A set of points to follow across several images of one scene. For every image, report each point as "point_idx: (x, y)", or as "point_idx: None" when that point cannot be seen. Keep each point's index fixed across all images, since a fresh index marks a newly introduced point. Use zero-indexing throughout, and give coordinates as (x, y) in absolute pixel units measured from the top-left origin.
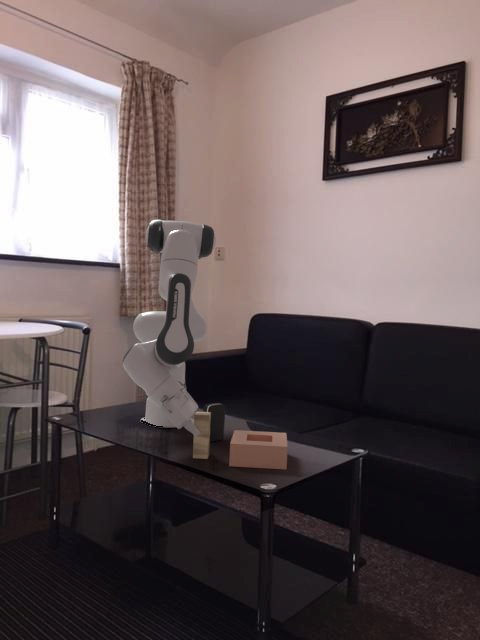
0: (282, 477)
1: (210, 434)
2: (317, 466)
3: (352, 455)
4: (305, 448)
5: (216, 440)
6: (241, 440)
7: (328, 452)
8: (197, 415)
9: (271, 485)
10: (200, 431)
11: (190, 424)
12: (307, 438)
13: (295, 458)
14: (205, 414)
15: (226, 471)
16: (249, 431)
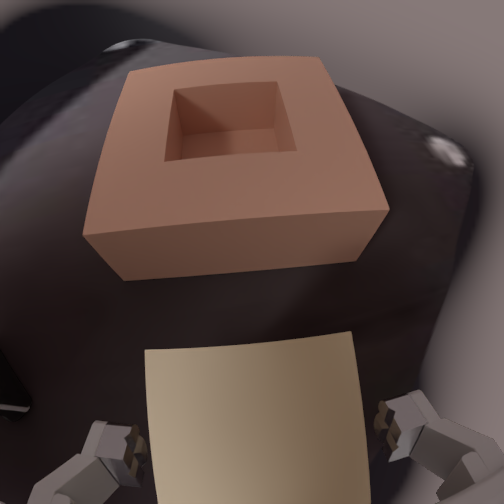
0: (377, 121)
1: (7, 389)
2: None
3: (152, 43)
4: (95, 101)
5: (9, 366)
6: (306, 168)
7: (131, 67)
8: (367, 478)
9: (440, 145)
10: (386, 399)
11: (489, 446)
12: (17, 120)
13: None
14: (318, 390)
15: (412, 259)
16: (108, 165)
